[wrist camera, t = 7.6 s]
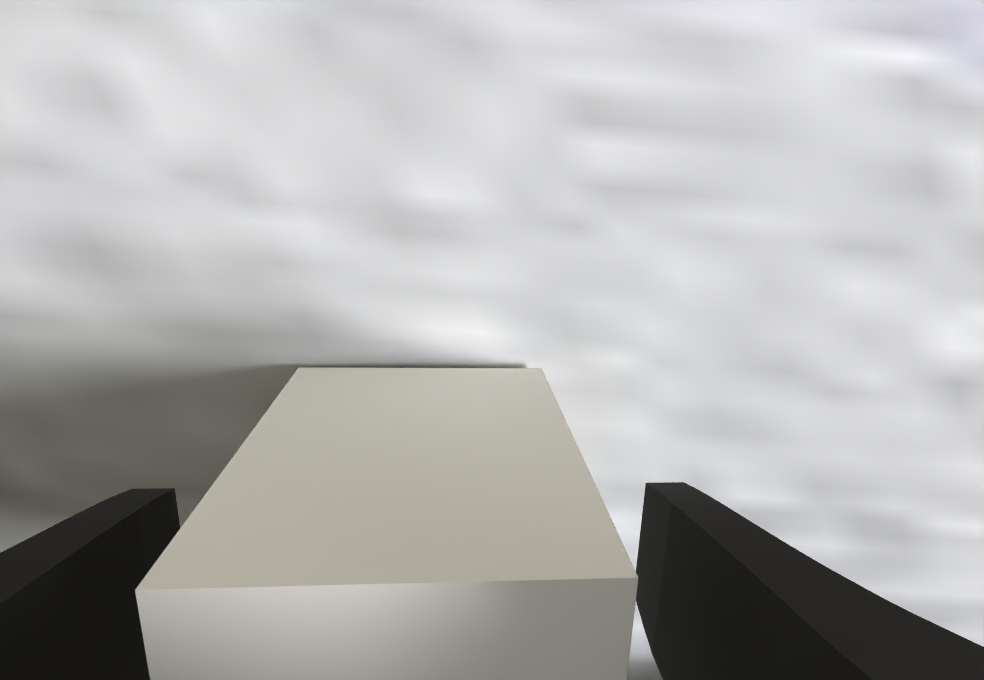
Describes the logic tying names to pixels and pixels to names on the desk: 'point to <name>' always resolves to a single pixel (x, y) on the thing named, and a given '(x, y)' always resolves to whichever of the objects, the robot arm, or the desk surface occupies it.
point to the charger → (397, 541)
